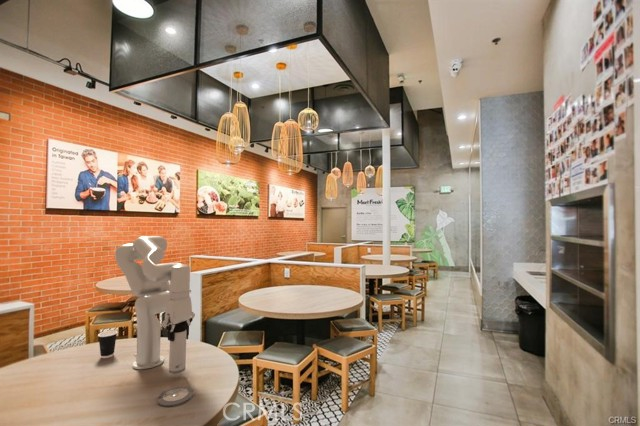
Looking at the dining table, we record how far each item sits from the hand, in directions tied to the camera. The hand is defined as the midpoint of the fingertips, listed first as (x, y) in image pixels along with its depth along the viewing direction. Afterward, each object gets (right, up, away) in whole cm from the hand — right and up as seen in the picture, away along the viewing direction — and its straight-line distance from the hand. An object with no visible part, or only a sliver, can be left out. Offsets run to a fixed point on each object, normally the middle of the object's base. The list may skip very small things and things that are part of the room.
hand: (178, 337), depth 129 cm
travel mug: (0, -14, 0) cm, 14 cm away
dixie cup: (-45, -18, +22) cm, 53 cm away
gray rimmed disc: (+6, -16, -15) cm, 23 cm away
